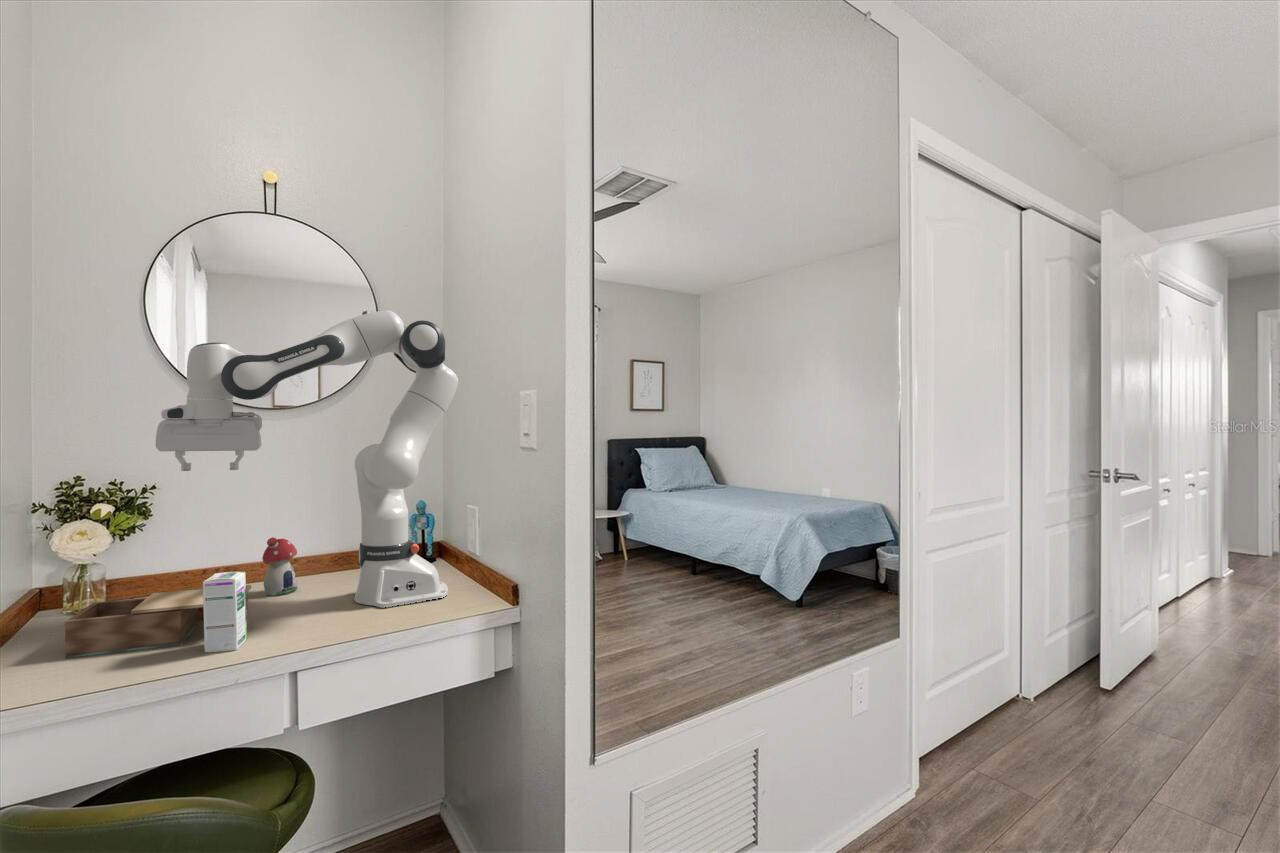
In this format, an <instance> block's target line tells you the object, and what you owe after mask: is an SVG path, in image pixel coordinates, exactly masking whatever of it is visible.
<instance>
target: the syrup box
mask: <svg viewBox="0 0 1280 853" xmlns="http://www.w3.org/2000/svg"><path fill="white" fill-rule="evenodd" d="M246 581H247V580H246V572H245V571H225V572H216V573H214V574H213V575H212V576H210V577H208V578H206V579H205V580H204V581H202V589H203V610H204V622H203V634H204V635H203V637H204V638H203V641H204V644H203V645H204V653H220V652H221V653H223V652H231V651H237V650H239V648H240V647H241V646H242V645H243V643H244V642H246V641H247V639H248V629H247V628H248V627H247V626H248V625H247V624H248V622H247V611H246V595H247V594H246V584H247V583H246Z"/></svg>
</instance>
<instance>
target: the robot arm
mask: <svg viewBox="0 0 1280 853" xmlns="http://www.w3.org/2000/svg"><path fill="white" fill-rule="evenodd" d="M443 333H444V332H442V330H441V328H440V327H439V326H438V325H437V324H435V323H433V322H431V321H428V320H423V319H422V320H417V321H414V322H412V323H410V324H408V325H407V326H406V324H405V323H404V321H403V320H402V319H401V317H400V316H399V315H398V314H397V313H396V312H394V311H392V310H389V309H386V310H378V311H372V312H369V313H365V314H361V315H357V316H355V317H352V318H349V319H346V320H343V321H342V322H339V323H337V324H335V325H333V326H330V327H329V328H328V329H326V330H325V331H323V332H321V333H319V334H318V335H316V336H315V337H313V338H311V339H309V340H307V341H305V342H304V341H303V342H302V343H299V344H295V345H293V346H291V347H287V348H285V349H281V350H278V351H276V352H273V353H268V354H258V355H257V354H246V353H244V352H242V351H239V350H237V349H235V348H234V347H232V346H231V345H229V344H228V343H226V342H207V343H200V344H196V345H194V346H193V347H192V348H190V351H189V352H188V356H187V363H186V381H187V384H188V393H187V394H186V404H183V405H177V406H175V407H170V408H166V409H163V410H162V411H161V412H160V415H161V418H162V419H163V420H161V421H160V422H159V423H158V426H157V428H156V432H155V433H156V434H155V448H156V449H157V450H158V451H159V452H174V457H175V459H176V460H177V461H178V463H179V464H180V465H181V467H180V470H181V472H190V471H192V467H191V466H192V462H187V461H186V460H187V459H185V458H184V456H185V455H186V452H233V451H234V454H235V456H237V457H236V458H235V460H234V461H230V462H229V471H238V470H239V467H240V466H239V463H240V462H241V461H242V459H243V457H244V455H245V452H246V451H247V452H248V451H249V452H250V451H251V452H252V451H253V452H254V451H258V450H259V449H260V448H261V447H262V437H261V432H260V430H261V429H262V427H263V419H262V417H261V416H260V414H257V413H255V412H252V411H248V412H245V411H243V412H242V411H234V397H235V398H238V399H241V400H247V401H251V400H257V399H262V398H265V397H268V396H270V395H272V393H274V392H275V390H276V389H277V388H278V385H279V382H282V381H284V380H285V379H288V378H291V377H294V376H297V375H299V374H301V373H304V372H307V371H310V370H313V369H315V368H320V367H323V366H324V367H325V366H342V367H343V366H349V365H353V364H357V363H362V362H365V361H367V360H371V359H373V358H375V357H378V356H380V355H383V354H386V353H393V355H394V356H395V357H396V358H397V360H399V361H400V363H401V364H402V365H403V366H404V367H405V368H406V369H407V370H409V371H410V372H413V373H414V374H415V377H414V380H413V382H412V384H411V385H410V387H409V388H408V389H407V391H406V393H405V394H404V396H403V397H402V398H401V400H400V402H399V404H397V406H396V408H395V409H394V411H393V412H392V414H391V416H390V418H389V423H388V426H387V428H386V431H385V433H384V435H383V438H382V440H381V442H380V443H372V444H369V445H367V446H365V447H364V448H362V449H361V450H360V451H359V452H358V453H357V455H356V456H355V460H354V468H355V473H356V484H357V491H358V498H359V502H360V503H359V504H360V512H361V513H360V514H361V515H360V516H361V542H359V543H360V544H359V549H358V563H359V566H360V567H359V569H360V570H359V578H358V583H357V586H356V587H357V588H356V591H355V595H354V598H353V600H354V602H355V603H358V604H361V605H366V606H374V607H377V608H382V609H384V608H385V607H386V608H391V607H392V606H393V607H398V606H397V605H399V606H403V605H404V604H405V605H409V604H410V603H411V604H416V603H415V602H417V603H422V601H423V602H427V601H426V600H430V601H433V600H432V599H436V600H439V599H438V598H442V599H444V598H445V596H446V595H448V594H449V588H448V585H447V584H446V583H445V582H444V581H441V580H440V576H439V575H440V574H439V572H438V570H437V568H436V566H435V565H433V563H431V562H429V561H428V560H427V559H424V558H423V557H421V556H420V555H419V554H417V553H418V552H419V550H420V546H419V544H417V543H416V542H415V541H414V540H411V539H409V509H408V505H407V501H406V499H405V492H404V489H406V488H408V487H410V486H412V485H413V484H414V483H415V481H416V480H417V479H418V475H419V472H420V464H421V462H422V459H423V457H424V453H425V451H426V448H427V446H428V443H429V441H430V440H431V437H432V436H433V433H434V432H435V431H436V429H437V427H438V426H439V424H440V422H441V420H442V419H443V417H444V416H445V414H446V412H447V410H448V409H449V407H450V405H451V403H452V401H453V399H454V397H455V395H456V392H457V389H458V386H459V377H458V376H457V374H456V373H455V372H454V371H453V369H451V368H450V367H448V366H447V365H446V364H444V362H445V360H446V339H445V335H444V334H443ZM443 597H444V598H443ZM446 597H447V596H446ZM411 604H410V605H411ZM393 607H392V608H393ZM386 608H385V609H386Z"/></svg>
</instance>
